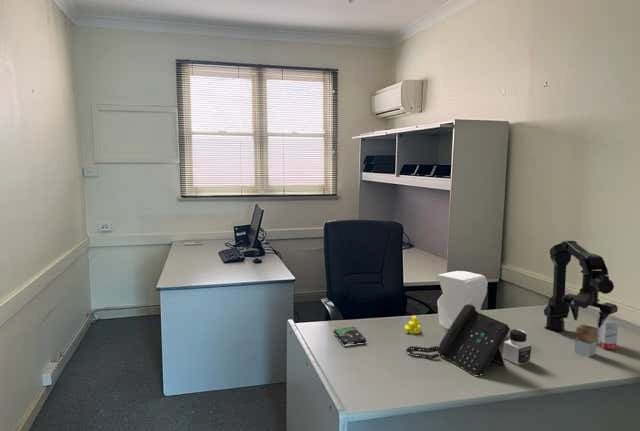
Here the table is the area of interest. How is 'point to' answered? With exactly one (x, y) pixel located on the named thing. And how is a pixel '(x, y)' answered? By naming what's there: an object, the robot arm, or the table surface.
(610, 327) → the ink box
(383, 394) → the table surface
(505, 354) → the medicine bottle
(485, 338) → the office phone
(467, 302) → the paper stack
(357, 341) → the disk drive
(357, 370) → the table surface
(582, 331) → the walnut cube
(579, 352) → the painted cube
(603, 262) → the robot arm
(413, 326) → the yellow ball pyramid
